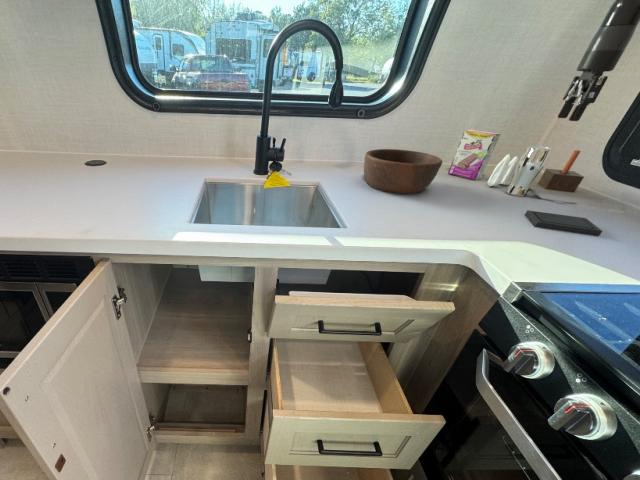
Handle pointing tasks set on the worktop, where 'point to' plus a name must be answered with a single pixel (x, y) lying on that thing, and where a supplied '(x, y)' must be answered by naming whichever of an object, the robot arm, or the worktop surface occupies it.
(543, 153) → the beer glass
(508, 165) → the shaker set
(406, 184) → the wooden bowl
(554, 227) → the tablet
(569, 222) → the screen
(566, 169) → the stylus
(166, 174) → the worktop surface
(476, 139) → the candy bar box
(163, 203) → the worktop surface
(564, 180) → the stand
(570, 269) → the worktop surface
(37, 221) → the worktop surface
